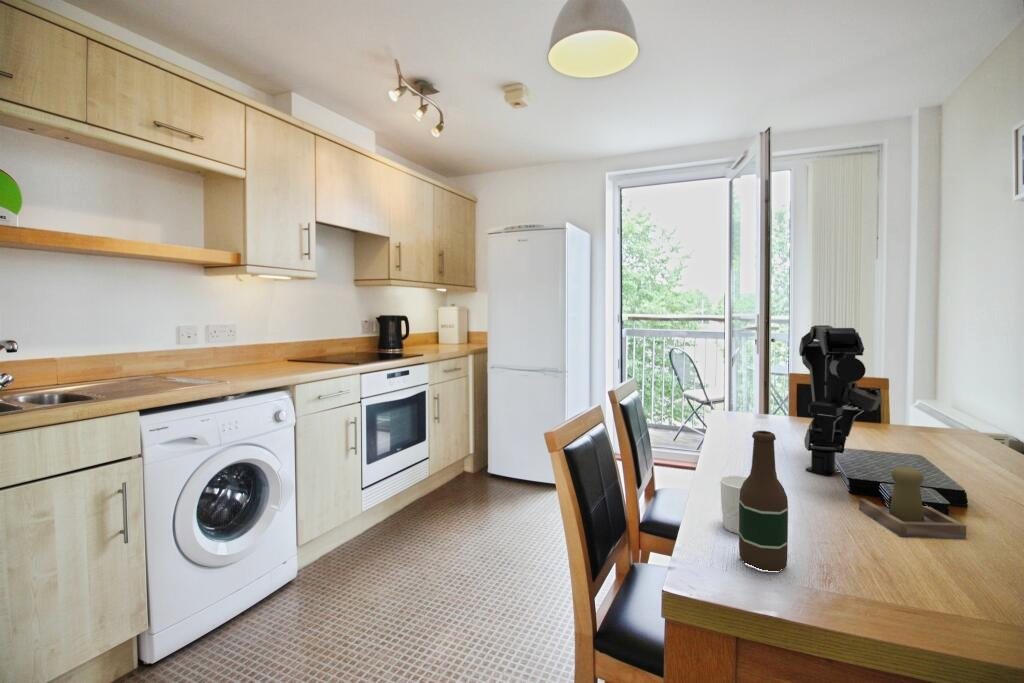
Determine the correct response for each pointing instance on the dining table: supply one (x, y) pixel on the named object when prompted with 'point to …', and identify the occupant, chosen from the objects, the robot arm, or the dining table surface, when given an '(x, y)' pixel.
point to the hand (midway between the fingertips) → (837, 439)
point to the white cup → (731, 501)
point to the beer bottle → (763, 510)
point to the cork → (907, 495)
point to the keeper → (916, 523)
